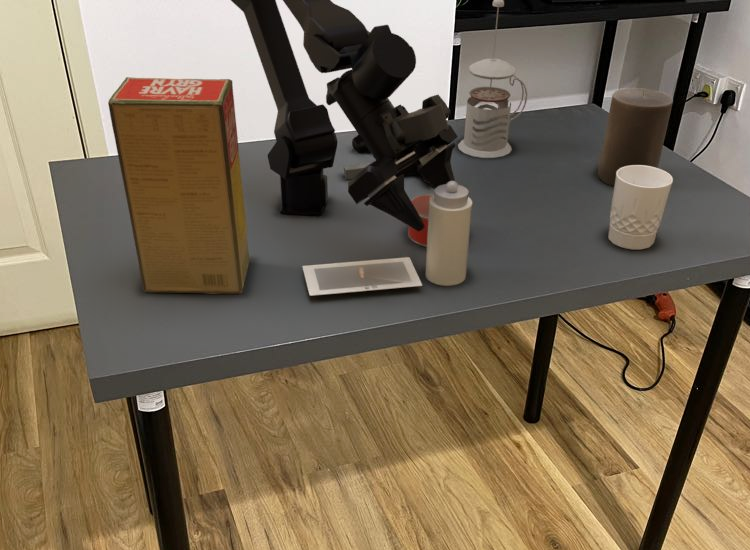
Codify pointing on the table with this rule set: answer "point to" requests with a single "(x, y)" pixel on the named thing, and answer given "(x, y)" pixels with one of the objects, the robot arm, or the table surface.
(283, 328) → the table surface
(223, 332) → the table surface
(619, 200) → the white cup
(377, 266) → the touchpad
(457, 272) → the pepper mill
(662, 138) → the pillar candle
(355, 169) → the door handle
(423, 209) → the sauce tin
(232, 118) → the food packaging
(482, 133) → the french press
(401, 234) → the table surface
